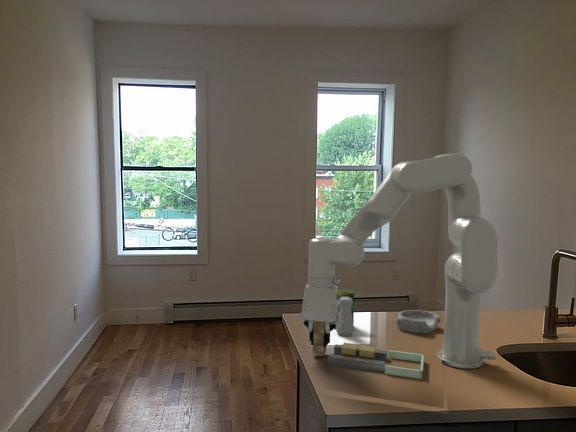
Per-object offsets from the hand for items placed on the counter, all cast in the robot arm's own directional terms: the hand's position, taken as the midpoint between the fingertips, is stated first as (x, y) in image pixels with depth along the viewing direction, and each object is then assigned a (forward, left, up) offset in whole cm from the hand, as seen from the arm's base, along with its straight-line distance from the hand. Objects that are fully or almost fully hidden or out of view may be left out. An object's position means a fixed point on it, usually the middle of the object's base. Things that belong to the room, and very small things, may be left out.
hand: (319, 343), depth 135 cm
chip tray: (-24, 0, -4) cm, 24 cm away
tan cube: (-9, 0, -3) cm, 9 cm away
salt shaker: (-4, -21, -5) cm, 22 cm away
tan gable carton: (0, 0, -3) cm, 3 cm away
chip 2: (-14, 0, -3) cm, 14 cm away
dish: (-26, -39, -5) cm, 47 cm away
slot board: (-11, 0, -4) cm, 12 cm away
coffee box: (-1, -31, -5) cm, 31 cm away
